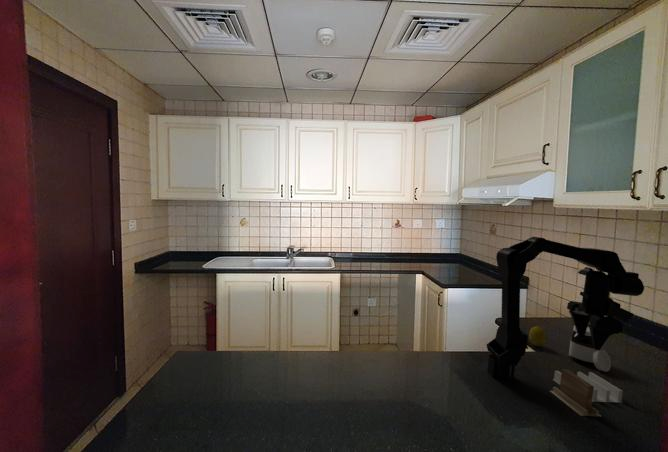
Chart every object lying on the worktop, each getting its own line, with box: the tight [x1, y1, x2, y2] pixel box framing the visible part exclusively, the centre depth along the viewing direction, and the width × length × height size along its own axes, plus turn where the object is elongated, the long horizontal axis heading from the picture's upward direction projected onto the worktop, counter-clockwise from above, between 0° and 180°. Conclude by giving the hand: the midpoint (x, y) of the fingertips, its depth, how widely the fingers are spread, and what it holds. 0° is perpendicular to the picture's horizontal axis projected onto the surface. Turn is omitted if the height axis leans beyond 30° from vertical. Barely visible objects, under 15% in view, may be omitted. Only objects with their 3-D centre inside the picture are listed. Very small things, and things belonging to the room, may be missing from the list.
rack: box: [552, 370, 624, 403], centre depth 85 cm, size 12×10×4 cm
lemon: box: [528, 325, 547, 347], centre depth 115 cm, size 6×6×8 cm
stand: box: [549, 386, 602, 417], centre depth 79 cm, size 6×10×2 cm, turn 3°
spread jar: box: [568, 325, 612, 373], centre depth 104 cm, size 12×11×12 cm
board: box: [559, 368, 594, 413], centre depth 79 cm, size 2×8×7 cm, turn 3°
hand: (588, 343), depth 88 cm, fingers open, 9 cm apart
